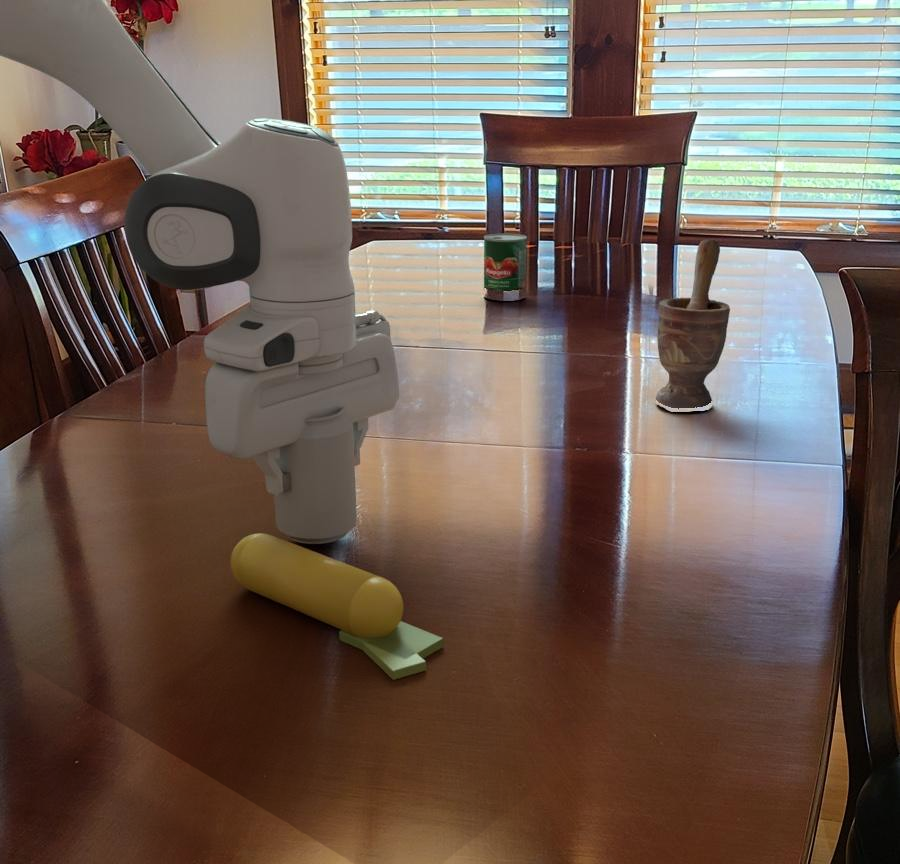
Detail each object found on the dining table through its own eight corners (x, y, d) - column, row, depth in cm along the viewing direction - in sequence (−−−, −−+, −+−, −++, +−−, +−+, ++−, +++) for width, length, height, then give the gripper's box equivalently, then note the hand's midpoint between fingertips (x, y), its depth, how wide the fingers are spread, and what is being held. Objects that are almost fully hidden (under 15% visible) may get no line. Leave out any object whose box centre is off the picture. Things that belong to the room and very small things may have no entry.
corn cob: (207, 596, 91) (201, 542, 89) (265, 571, 96) (260, 519, 93) (402, 684, 78) (401, 624, 76) (459, 650, 83) (459, 592, 80)
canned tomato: (523, 293, 205) (524, 233, 201) (527, 301, 198) (529, 239, 194) (481, 293, 205) (482, 233, 200) (484, 302, 198) (485, 240, 193)
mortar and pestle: (644, 389, 147) (656, 236, 138) (708, 390, 146) (725, 236, 137) (655, 415, 136) (669, 251, 127) (724, 415, 136) (743, 251, 127)
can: (353, 513, 105) (348, 393, 99) (361, 544, 98) (355, 417, 93) (276, 518, 104) (266, 397, 98) (278, 550, 97) (268, 421, 92)
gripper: (363, 302, 101) (368, 443, 107) (186, 342, 87) (204, 502, 93) (413, 311, 97) (415, 456, 104) (237, 355, 83) (252, 520, 90)
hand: (314, 478), depth 98 cm, fingers closed on can, 7 cm apart
